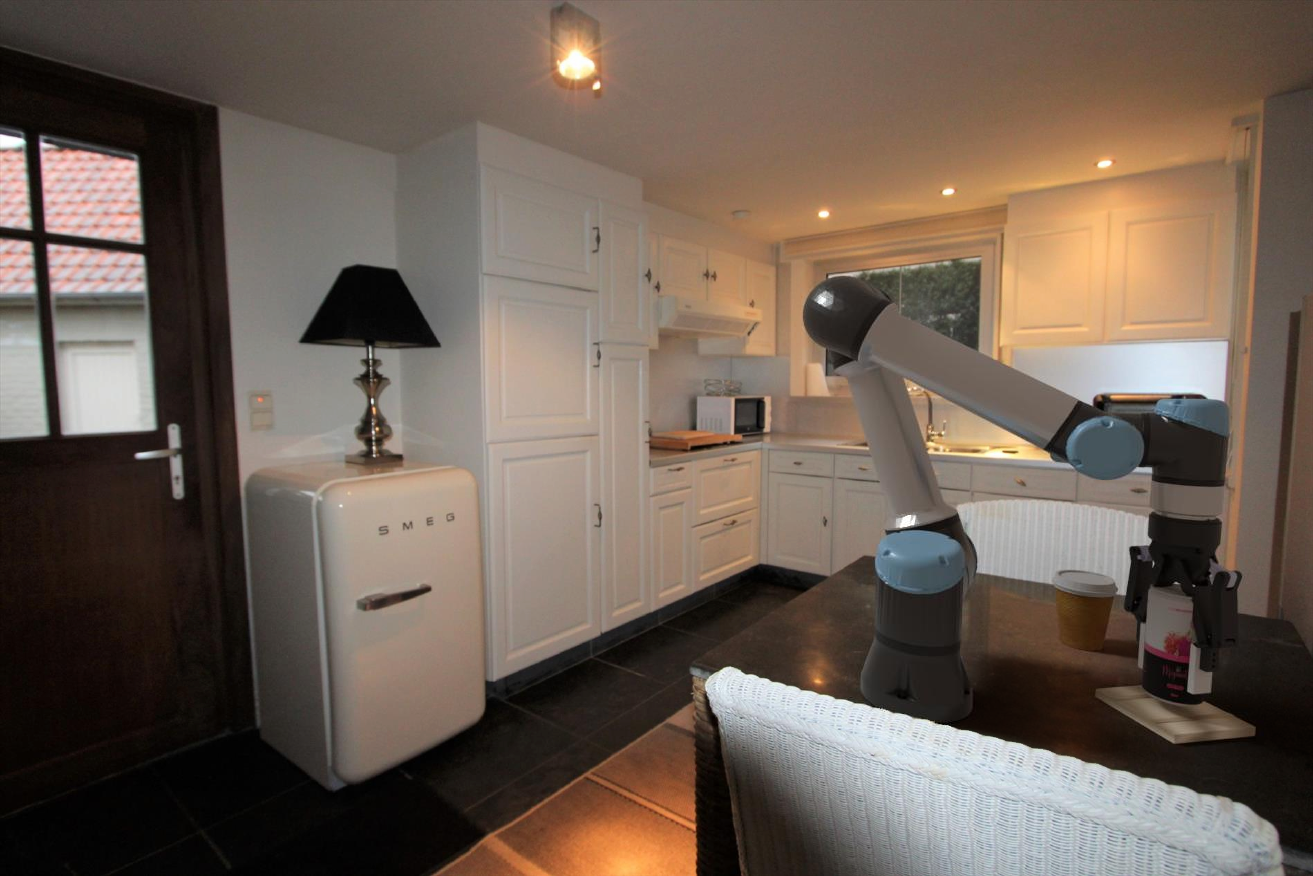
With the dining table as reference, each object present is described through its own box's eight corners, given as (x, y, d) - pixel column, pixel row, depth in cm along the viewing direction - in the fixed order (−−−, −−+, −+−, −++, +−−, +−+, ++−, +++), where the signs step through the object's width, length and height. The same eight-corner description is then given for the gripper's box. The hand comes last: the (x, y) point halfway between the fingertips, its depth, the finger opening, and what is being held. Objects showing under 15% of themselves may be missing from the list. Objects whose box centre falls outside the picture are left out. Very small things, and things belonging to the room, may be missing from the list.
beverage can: (1185, 712, 82) (1194, 601, 80) (1131, 690, 88) (1138, 586, 86) (1214, 702, 84) (1222, 594, 83) (1158, 681, 90) (1166, 579, 89)
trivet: (1174, 743, 79) (1174, 734, 79) (1095, 696, 91) (1095, 688, 91) (1254, 735, 81) (1255, 726, 81) (1167, 690, 93) (1167, 682, 93)
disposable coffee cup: (1125, 657, 104) (1130, 587, 103) (1062, 652, 106) (1066, 583, 105) (1097, 634, 113) (1101, 570, 112) (1039, 630, 115) (1043, 567, 114)
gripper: (1291, 529, 74) (1275, 714, 77) (1143, 499, 94) (1133, 647, 96) (1237, 532, 73) (1222, 719, 75) (1098, 501, 93) (1089, 650, 95)
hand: (1172, 679), depth 86 cm, fingers closed on beverage can, 6 cm apart
